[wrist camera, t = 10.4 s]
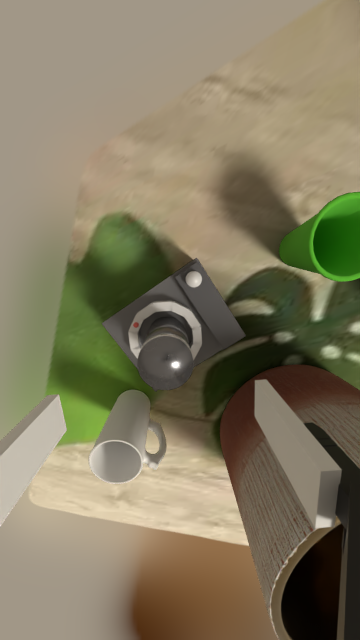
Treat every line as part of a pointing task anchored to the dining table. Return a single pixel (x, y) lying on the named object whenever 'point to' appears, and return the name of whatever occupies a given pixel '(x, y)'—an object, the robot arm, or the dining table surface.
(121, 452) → the mug
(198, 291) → the camera body
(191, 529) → the dining table surface
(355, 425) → the planter
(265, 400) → the robot arm
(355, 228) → the cup
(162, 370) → the lens
